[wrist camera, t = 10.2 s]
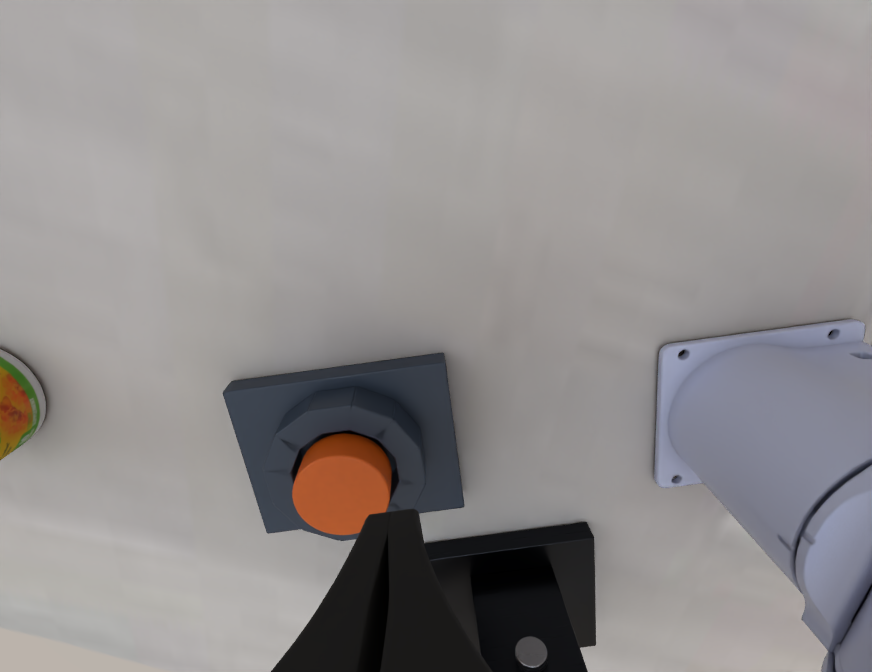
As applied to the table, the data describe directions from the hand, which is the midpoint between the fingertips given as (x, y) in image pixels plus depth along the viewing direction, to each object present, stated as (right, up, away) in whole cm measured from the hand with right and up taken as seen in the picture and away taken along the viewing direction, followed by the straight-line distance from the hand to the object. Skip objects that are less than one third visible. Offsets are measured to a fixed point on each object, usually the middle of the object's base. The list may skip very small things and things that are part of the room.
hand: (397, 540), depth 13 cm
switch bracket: (+5, -9, +15) cm, 18 cm away
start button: (-3, -1, +8) cm, 9 cm away
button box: (-3, 0, +11) cm, 11 cm away
